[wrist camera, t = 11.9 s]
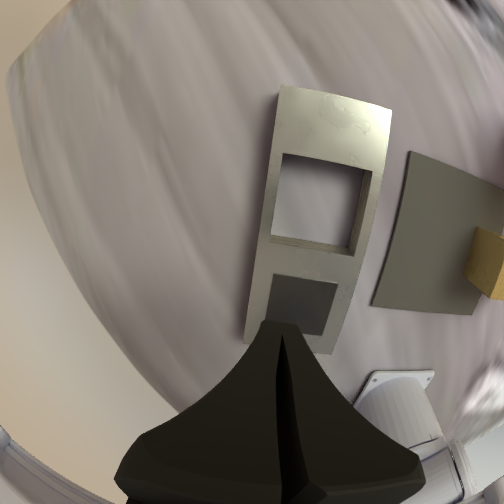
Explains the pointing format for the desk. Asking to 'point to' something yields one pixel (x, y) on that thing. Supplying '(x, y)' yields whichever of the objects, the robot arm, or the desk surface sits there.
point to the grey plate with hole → (307, 252)
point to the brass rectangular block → (486, 263)
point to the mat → (436, 238)
